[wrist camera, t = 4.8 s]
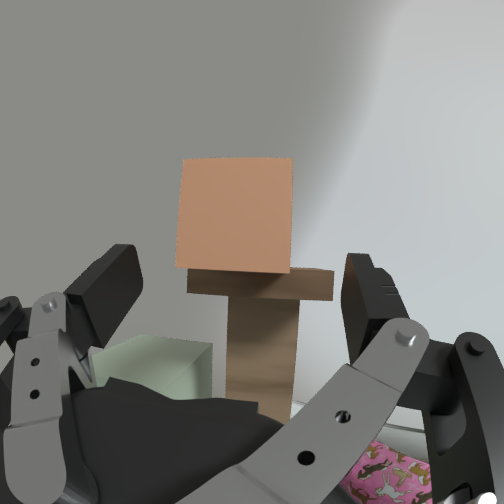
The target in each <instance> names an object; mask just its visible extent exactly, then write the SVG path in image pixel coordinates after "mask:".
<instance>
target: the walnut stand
mask: <svg viewBox="0 0 504 504" xmlns="http://www.w3.org/2000/svg"><path fill="white" fill-rule="evenodd" d="M333 286H334V271H331V270H323V269H316V268H292V267H290V273H268V272H247V271H227V270H209V269H191V268H188V276H187V293H195V294H208V295H222V296H228V323H227V354H226V394H225V399H233V400H243V401H254V402H258V403H259V414H262V415H265V416H268V417H270V418H273V419H275V420H277V421H279V422H281V423H282V424H284V425H285V424H286V423H287V422H288V421H289V420H290V414H291V404H292V394H293V384H294V373H295V361H296V348H297V336H298V321H299V306H300V300H322V301H333Z"/></svg>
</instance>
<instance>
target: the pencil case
mask: <svg viewBox="0 0 504 504" xmlns="http://www.w3.org/2000/svg"><path fill="white" fill-rule="evenodd" d="M341 485H342V487H343V488H344V489H345V490H346V491H347V492H348V493H349V494H350V495H351V496H352V497H353V499H354V500H355V501H356V502H358V503H359V504H432V488H431V476H430V466H429V464H428V463H425V462H422V461H419V460H416V459H413V458H410V457H408V456H406V455H404V454H401V453H400V452H397V451H395V450H393V449H392V448H390V447H388V446H386V445H384V444H383V443H381V442H378V441H373V442H372V443H371V445H370V446H369V448H368V449H367V450H366V452H365V453H364V454H363V456H362V457H361V459H360V460H359V461H358V462H357V464H356V465H355V466H354V468H353V469H352V470H351V471H350V473H349V474H348V475H347V476H346V478H345V479H344V480H343V481H342V482H341Z"/></svg>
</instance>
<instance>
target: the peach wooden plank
mask: <svg viewBox="0 0 504 504" xmlns="http://www.w3.org/2000/svg"><path fill="white" fill-rule="evenodd" d="M292 180H293V158H204V159H203V158H202V159H184V161H183V170H182V181H181V191H180V203H179V216H178V230H177V247H176V248H177V249H176V268H191V269H209V270H227V271H247V272H268V273H290V254H291V226H292V225H291V224H292V184H293V181H292Z"/></svg>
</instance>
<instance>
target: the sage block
mask: <svg viewBox="0 0 504 504" xmlns="http://www.w3.org/2000/svg"><path fill="white" fill-rule="evenodd" d="M212 346H213V345H212V343H206V342H197V341H188V340H180V339H173V338H166V337H158V336H152V335H146V334H140V335H138V336H136V337H134V338H132V339H129V340H127V341H125V342H122V343H120V344H118V345H115V346H113V347H111V348H109V349H106V350H104V351H102V352H100V353H97V354H95V355H92V361H93V366H94V372H95V378H96V383H97V387H103V386H105V384H106V382H107V380H108V379H109V377H113V378H117V379H121V380H125V381H129V382H134V383H138V384H141V385H143V386H145V387H147V388H150V389H152V390H154V391H156V392H158V393H160V394H162V395H164V396H166V397H169V398H171V399H175V400H186V399H204V398H212Z"/></svg>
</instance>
